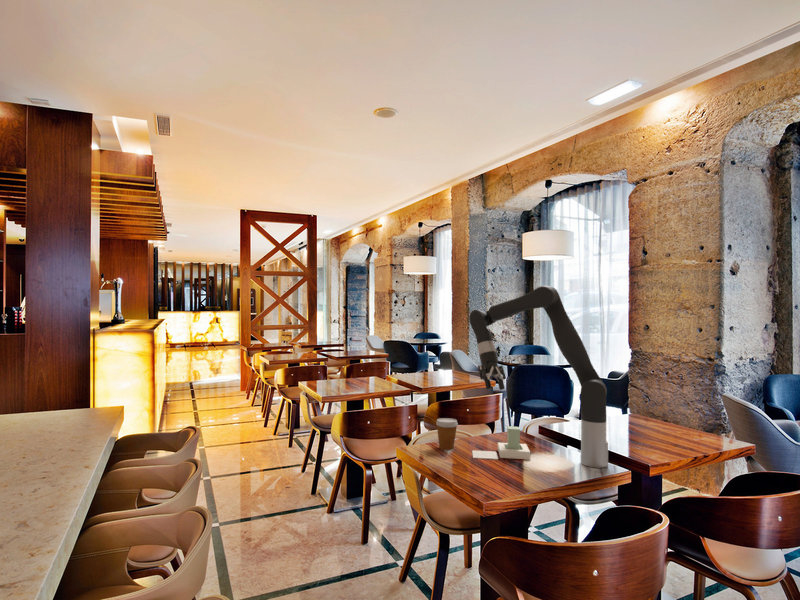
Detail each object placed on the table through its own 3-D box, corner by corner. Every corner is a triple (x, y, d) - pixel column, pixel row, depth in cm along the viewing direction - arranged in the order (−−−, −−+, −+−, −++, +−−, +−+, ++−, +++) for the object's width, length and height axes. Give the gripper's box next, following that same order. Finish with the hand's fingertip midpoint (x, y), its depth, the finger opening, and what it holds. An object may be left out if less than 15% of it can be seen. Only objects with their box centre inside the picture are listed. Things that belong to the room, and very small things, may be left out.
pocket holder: (525, 450, 200) (526, 443, 200) (530, 459, 188) (530, 451, 188) (497, 449, 201) (497, 442, 201) (500, 457, 189) (500, 450, 189)
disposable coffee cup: (447, 452, 195) (447, 423, 196) (431, 447, 202) (431, 419, 203) (462, 448, 202) (462, 420, 202) (445, 443, 209) (446, 416, 209)
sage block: (518, 453, 196) (518, 426, 197) (519, 456, 192) (519, 429, 192) (507, 452, 197) (507, 426, 197) (508, 455, 193) (508, 428, 193)
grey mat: (496, 452, 196) (496, 451, 196) (498, 459, 186) (498, 458, 186) (472, 451, 198) (472, 450, 198) (473, 458, 188) (473, 457, 188)
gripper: (483, 349, 198) (491, 386, 191) (504, 351, 206) (513, 387, 200) (470, 354, 203) (478, 391, 197) (491, 356, 212) (499, 391, 205)
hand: (495, 389), depth 198 cm, fingers open, 8 cm apart
